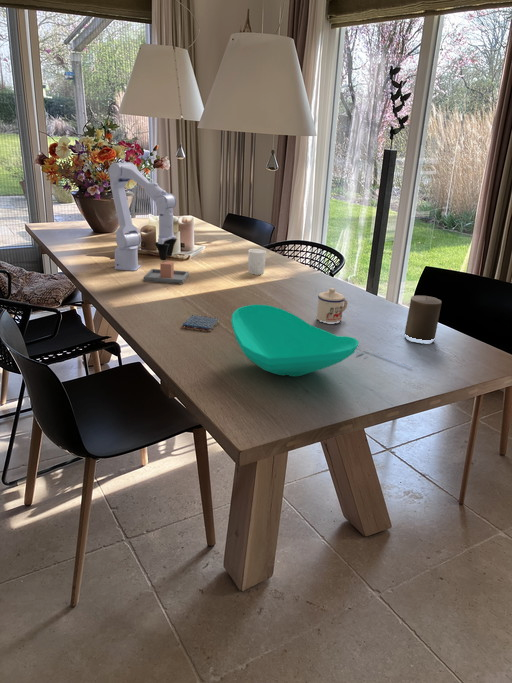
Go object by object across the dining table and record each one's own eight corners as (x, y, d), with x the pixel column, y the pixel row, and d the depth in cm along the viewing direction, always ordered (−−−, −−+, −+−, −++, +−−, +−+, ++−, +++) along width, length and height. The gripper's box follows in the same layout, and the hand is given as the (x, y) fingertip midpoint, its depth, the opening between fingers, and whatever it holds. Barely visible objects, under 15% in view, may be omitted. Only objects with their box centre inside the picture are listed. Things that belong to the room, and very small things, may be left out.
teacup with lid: (326, 326, 189) (330, 293, 184) (310, 318, 196) (313, 286, 191) (353, 321, 195) (357, 290, 190) (336, 313, 202) (340, 282, 198)
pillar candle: (429, 347, 177) (438, 302, 171) (399, 339, 181) (407, 295, 176) (437, 338, 184) (446, 295, 179) (409, 331, 189) (416, 289, 183)
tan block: (160, 277, 230) (160, 263, 228) (163, 275, 234) (163, 261, 232) (171, 278, 230) (171, 264, 227) (173, 275, 234) (173, 261, 231)
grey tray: (143, 281, 226) (143, 276, 226) (151, 272, 238) (151, 268, 238) (182, 284, 226) (182, 279, 225) (188, 275, 238) (188, 271, 237)
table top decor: (205, 357, 159) (206, 314, 154) (275, 337, 177) (278, 297, 172) (306, 413, 133) (311, 363, 128) (376, 383, 150) (383, 338, 145)
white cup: (265, 271, 251) (267, 249, 247) (264, 276, 244) (265, 253, 240) (248, 270, 252) (249, 248, 248) (246, 274, 244) (247, 252, 241)
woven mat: (220, 323, 188) (220, 317, 187) (211, 334, 178) (211, 328, 177) (190, 319, 190) (190, 313, 189) (180, 329, 180) (180, 323, 179)
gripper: (170, 229, 217) (170, 262, 223) (180, 222, 231) (180, 254, 236) (152, 227, 218) (153, 261, 224) (164, 221, 232) (164, 253, 237)
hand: (166, 257), depth 230 cm, fingers open, 7 cm apart
